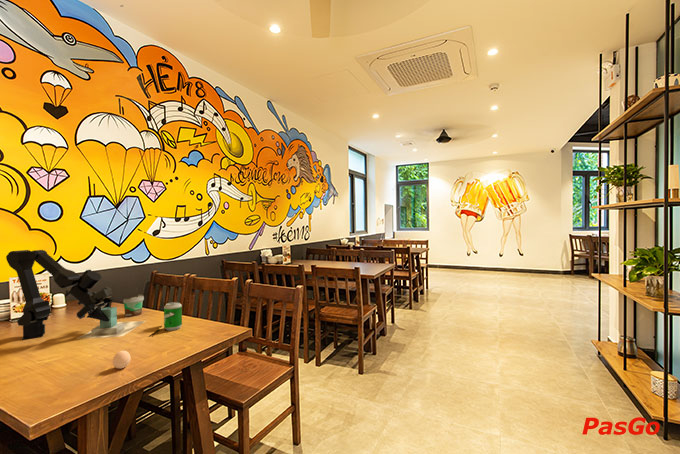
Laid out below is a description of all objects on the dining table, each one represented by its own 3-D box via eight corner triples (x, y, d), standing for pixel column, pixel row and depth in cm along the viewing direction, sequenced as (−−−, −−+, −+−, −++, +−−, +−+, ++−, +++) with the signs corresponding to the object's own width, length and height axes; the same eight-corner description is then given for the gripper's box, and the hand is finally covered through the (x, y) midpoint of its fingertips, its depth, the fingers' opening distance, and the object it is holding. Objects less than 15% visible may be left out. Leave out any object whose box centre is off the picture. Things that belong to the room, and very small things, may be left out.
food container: (134, 318, 165) (134, 299, 165) (123, 318, 165) (122, 299, 165) (149, 311, 177) (149, 294, 177) (138, 311, 178) (138, 294, 177)
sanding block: (91, 335, 134) (91, 311, 134) (100, 330, 141) (100, 307, 141) (116, 333, 136) (116, 309, 136) (124, 328, 142) (124, 306, 142)
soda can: (177, 325, 152) (177, 300, 152) (184, 328, 148) (184, 303, 148) (161, 329, 147) (161, 303, 147) (168, 332, 142) (167, 306, 142)
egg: (132, 367, 107) (132, 350, 107) (114, 372, 103) (114, 355, 103) (128, 363, 110) (128, 346, 110) (110, 368, 106) (110, 351, 106)
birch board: (75, 342, 130) (75, 338, 130) (107, 325, 152) (107, 322, 152) (121, 339, 133) (121, 336, 133) (146, 323, 155) (146, 320, 155)
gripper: (84, 286, 128) (113, 311, 130) (110, 279, 147) (136, 301, 149) (63, 306, 127) (93, 331, 129) (92, 296, 146) (118, 318, 147)
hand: (111, 319), depth 138 cm, fingers closed on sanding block, 4 cm apart
